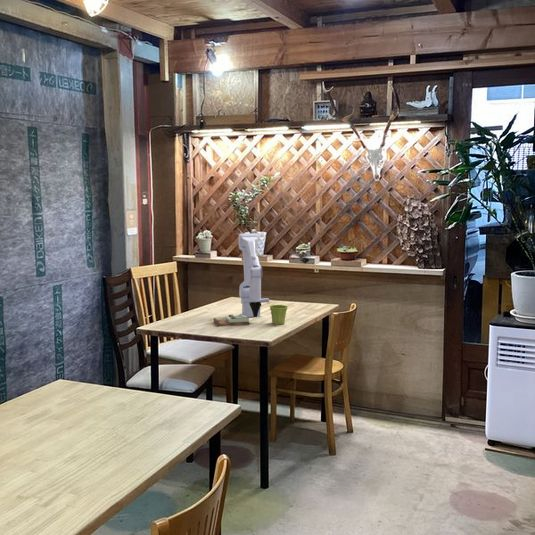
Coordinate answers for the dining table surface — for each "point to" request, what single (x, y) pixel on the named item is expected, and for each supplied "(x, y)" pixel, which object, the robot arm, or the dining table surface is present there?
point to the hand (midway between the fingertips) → (255, 317)
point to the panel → (237, 319)
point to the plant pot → (278, 313)
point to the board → (224, 322)
